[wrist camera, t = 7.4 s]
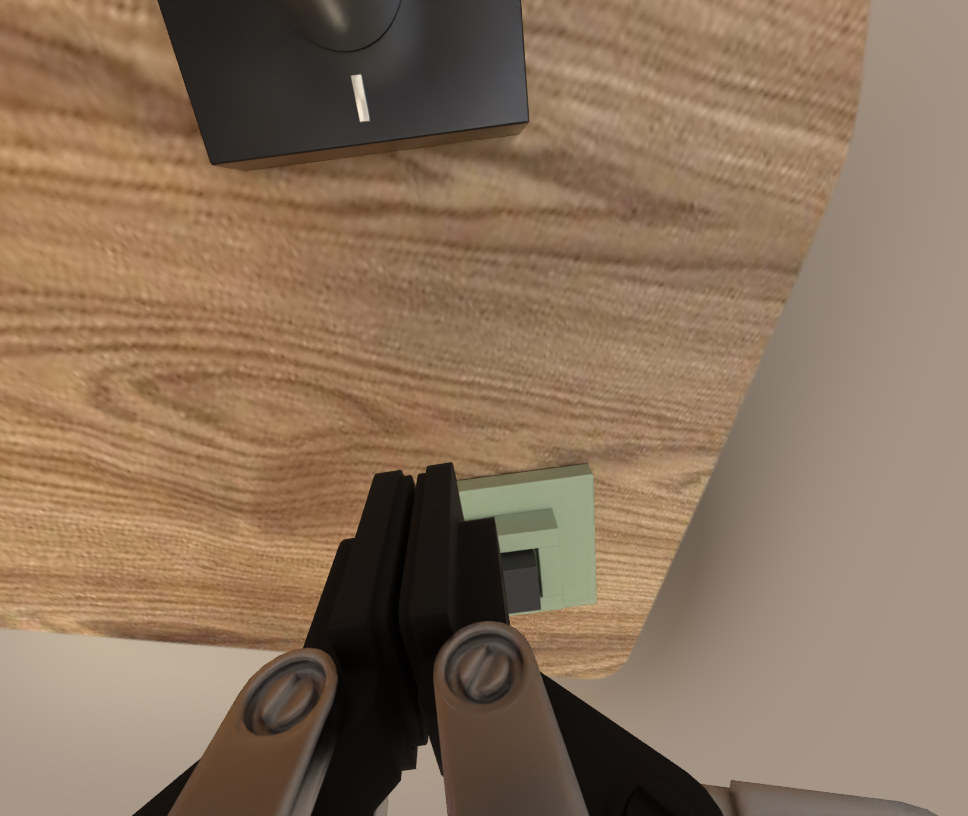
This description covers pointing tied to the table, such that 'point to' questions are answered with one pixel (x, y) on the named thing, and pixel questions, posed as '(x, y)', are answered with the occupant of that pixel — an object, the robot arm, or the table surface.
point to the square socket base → (543, 527)
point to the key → (521, 581)
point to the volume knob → (339, 20)
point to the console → (348, 80)
